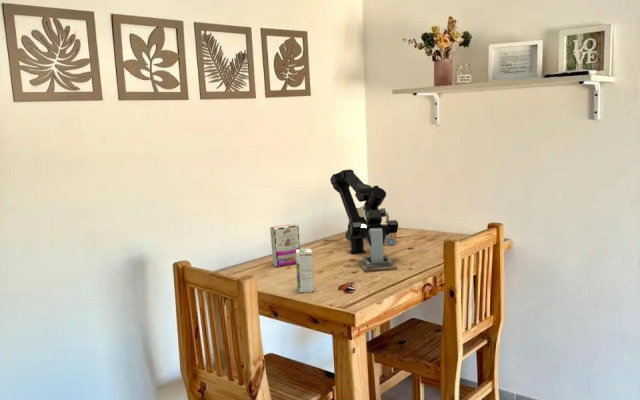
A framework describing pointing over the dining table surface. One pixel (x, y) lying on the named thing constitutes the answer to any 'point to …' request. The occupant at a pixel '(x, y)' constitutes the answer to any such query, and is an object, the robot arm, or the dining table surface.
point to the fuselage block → (376, 245)
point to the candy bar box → (284, 244)
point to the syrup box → (304, 270)
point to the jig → (377, 265)
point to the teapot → (362, 213)
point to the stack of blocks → (389, 239)
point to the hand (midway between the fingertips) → (376, 245)
